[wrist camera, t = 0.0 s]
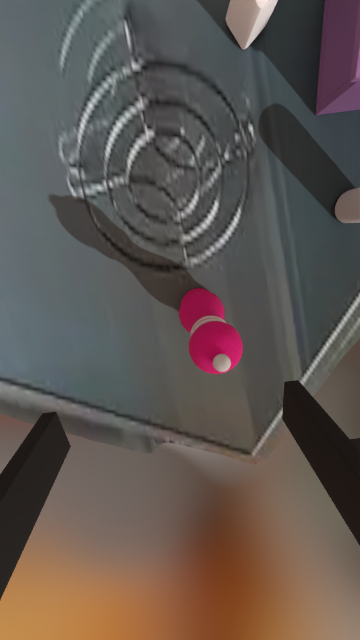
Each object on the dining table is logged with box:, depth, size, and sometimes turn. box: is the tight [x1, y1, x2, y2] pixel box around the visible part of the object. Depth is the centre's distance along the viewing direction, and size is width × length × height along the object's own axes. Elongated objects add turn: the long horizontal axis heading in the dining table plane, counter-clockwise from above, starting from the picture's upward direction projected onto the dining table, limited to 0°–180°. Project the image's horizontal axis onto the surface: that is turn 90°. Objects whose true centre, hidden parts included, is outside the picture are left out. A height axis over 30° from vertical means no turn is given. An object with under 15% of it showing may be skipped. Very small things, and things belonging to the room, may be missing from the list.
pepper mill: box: [179, 288, 243, 374], centre depth 31 cm, size 7×7×20 cm
